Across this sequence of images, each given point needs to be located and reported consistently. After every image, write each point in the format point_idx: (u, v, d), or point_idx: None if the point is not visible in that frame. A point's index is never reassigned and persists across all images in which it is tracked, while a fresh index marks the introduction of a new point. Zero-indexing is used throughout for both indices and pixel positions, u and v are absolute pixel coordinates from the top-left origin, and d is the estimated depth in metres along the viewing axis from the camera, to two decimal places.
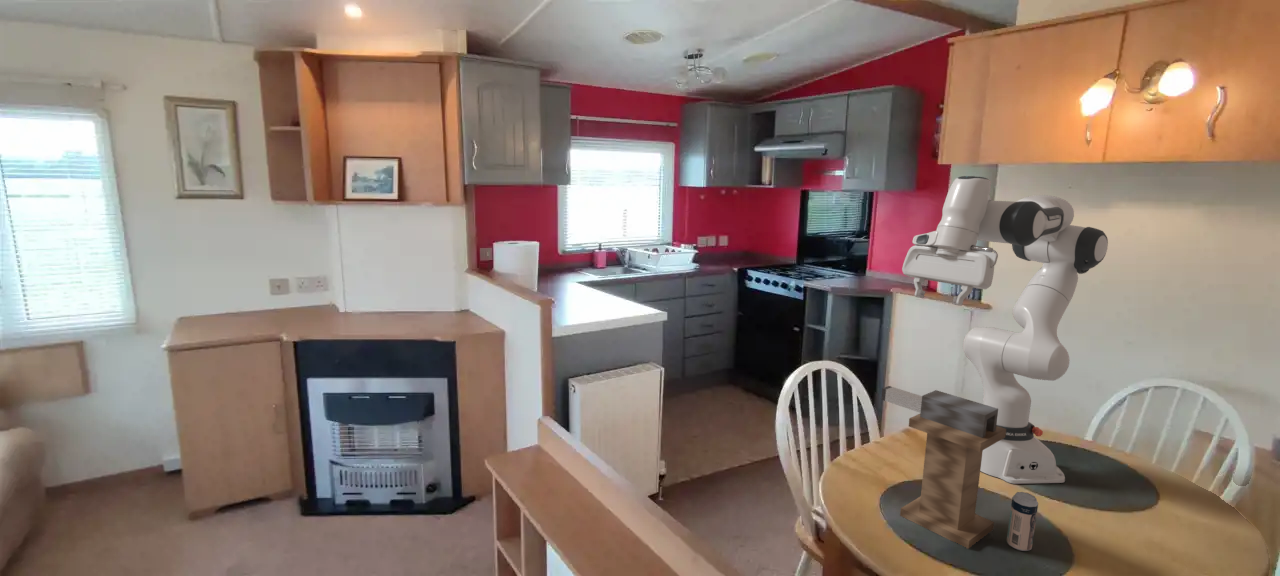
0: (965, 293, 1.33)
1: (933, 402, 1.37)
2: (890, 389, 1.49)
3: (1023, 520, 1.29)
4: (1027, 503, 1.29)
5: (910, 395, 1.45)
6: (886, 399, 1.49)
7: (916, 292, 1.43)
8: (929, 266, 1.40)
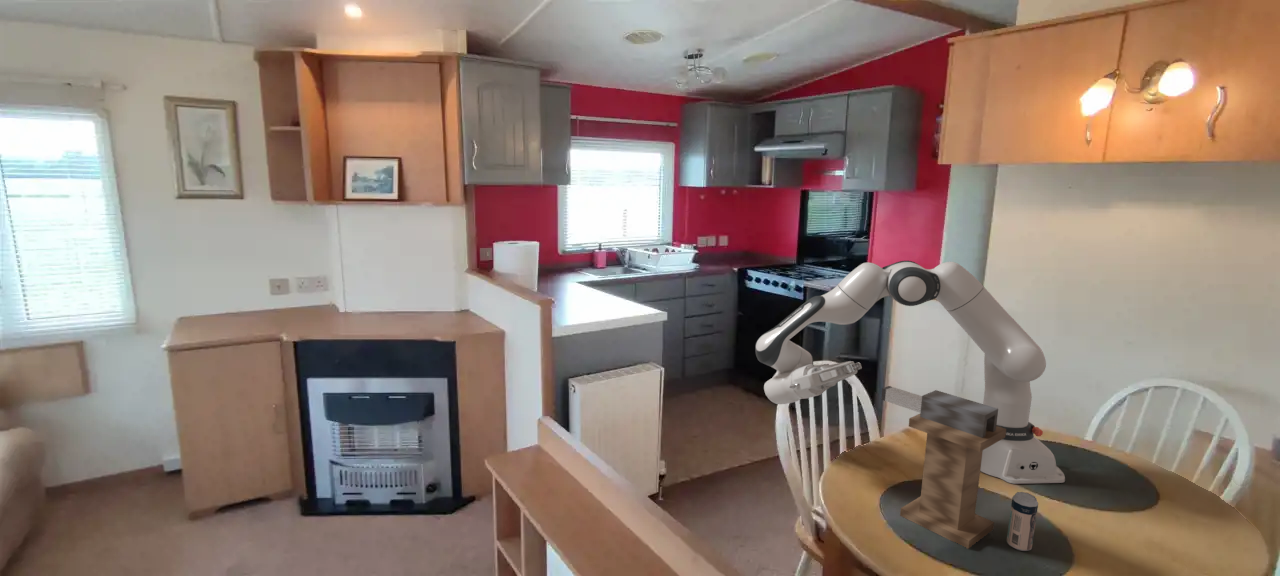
0: (826, 377, 1.57)
1: (933, 402, 1.37)
2: (890, 389, 1.49)
3: (1023, 520, 1.29)
4: (1027, 503, 1.29)
5: (910, 395, 1.45)
6: (886, 399, 1.49)
7: None
8: None
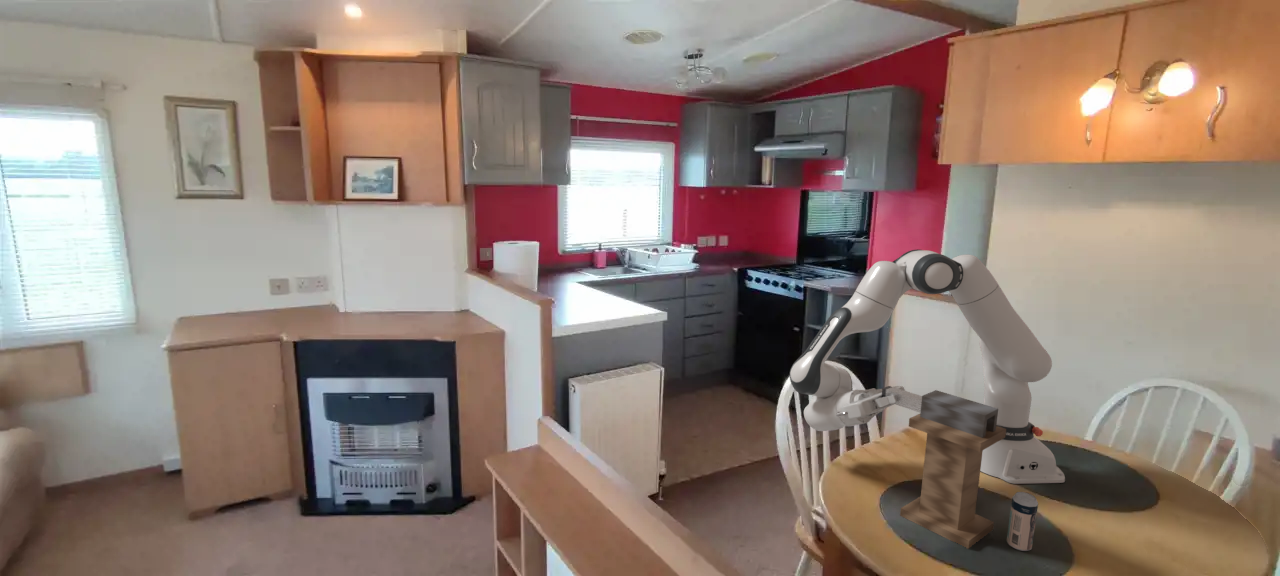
0: (884, 403, 1.47)
1: (933, 402, 1.37)
2: (890, 389, 1.49)
3: (1023, 520, 1.29)
4: (1027, 503, 1.29)
5: (910, 395, 1.45)
6: None
7: None
8: None
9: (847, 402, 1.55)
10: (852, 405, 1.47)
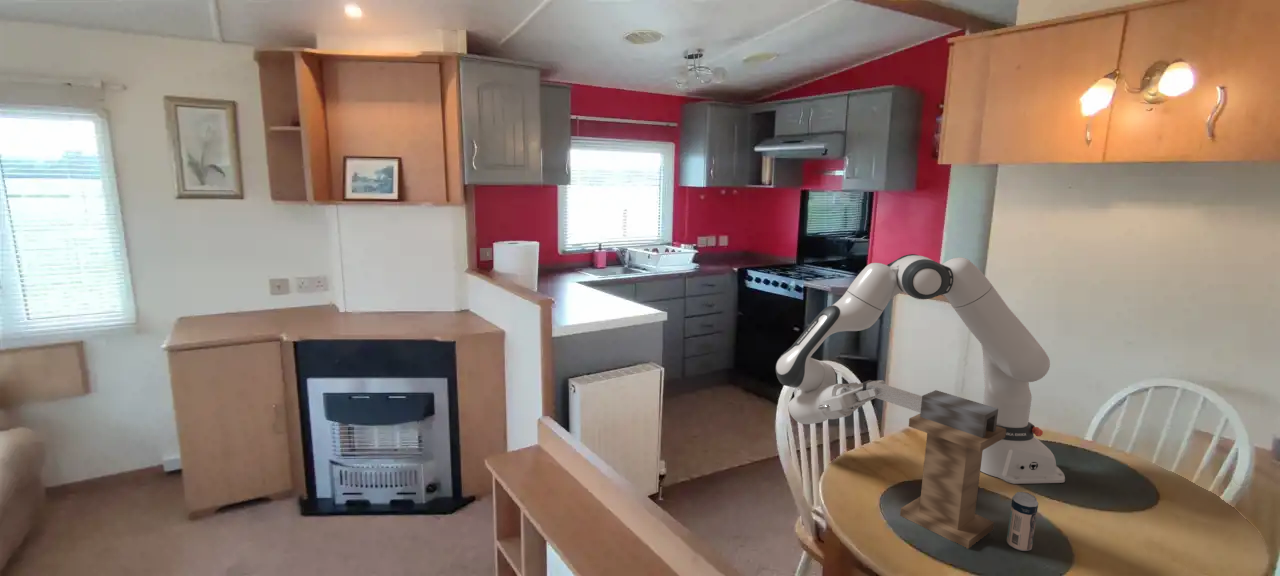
0: (864, 396, 1.51)
1: (933, 402, 1.37)
2: (871, 383, 1.53)
3: (1023, 520, 1.29)
4: (1027, 504, 1.29)
5: (890, 389, 1.49)
6: None
7: None
8: None
9: (829, 396, 1.60)
10: (833, 398, 1.51)
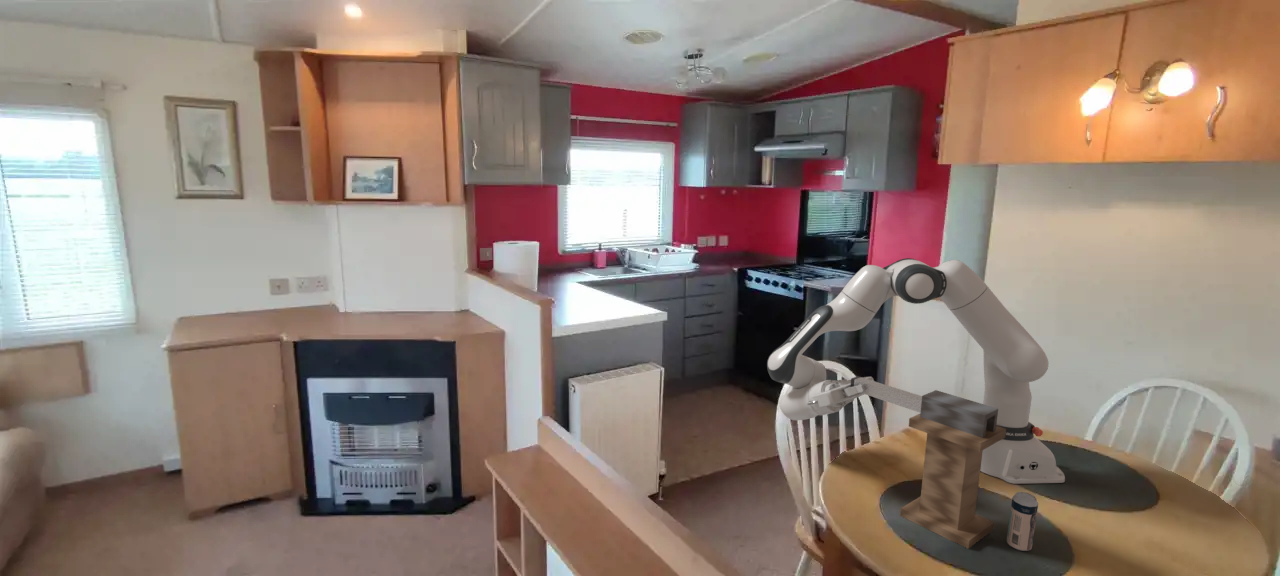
0: (852, 392, 1.54)
1: (933, 402, 1.37)
2: (858, 379, 1.56)
3: (1023, 520, 1.29)
4: (1027, 503, 1.29)
5: (877, 385, 1.52)
6: None
7: None
8: None
9: (818, 392, 1.62)
10: (822, 394, 1.54)
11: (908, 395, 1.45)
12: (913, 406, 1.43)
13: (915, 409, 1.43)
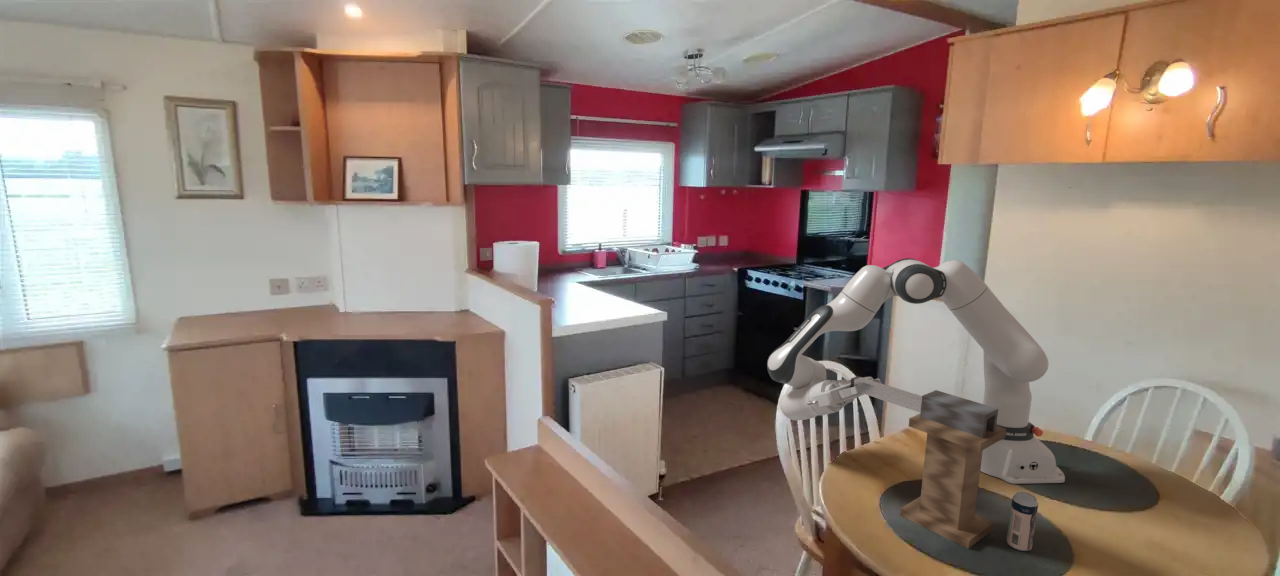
0: (846, 394, 1.53)
1: (933, 402, 1.37)
2: (858, 379, 1.56)
3: (1023, 520, 1.29)
4: (1027, 503, 1.29)
5: (877, 385, 1.52)
6: None
7: None
8: None
9: (818, 392, 1.62)
10: (822, 394, 1.54)
11: (908, 395, 1.45)
12: (913, 406, 1.43)
13: (915, 409, 1.43)
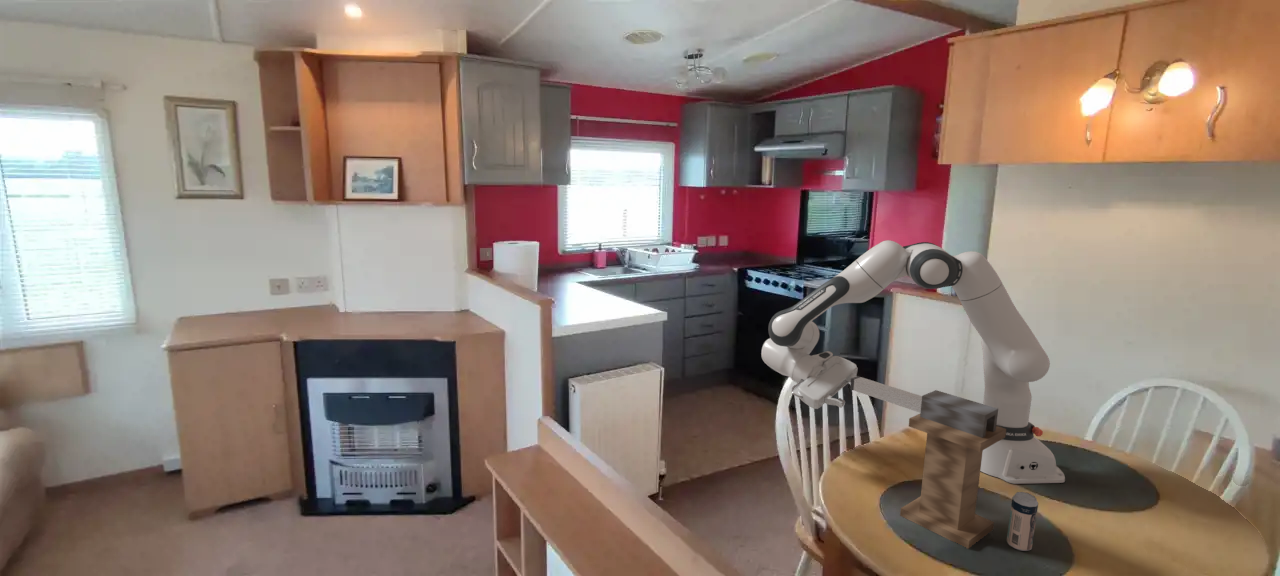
0: (831, 403, 1.62)
1: (933, 402, 1.37)
2: (858, 379, 1.56)
3: (1023, 520, 1.29)
4: (1027, 503, 1.29)
5: (877, 385, 1.52)
6: (854, 389, 1.56)
7: None
8: None
9: (805, 375, 1.68)
10: (810, 398, 1.61)
11: (908, 395, 1.45)
12: (913, 406, 1.43)
13: (915, 409, 1.43)
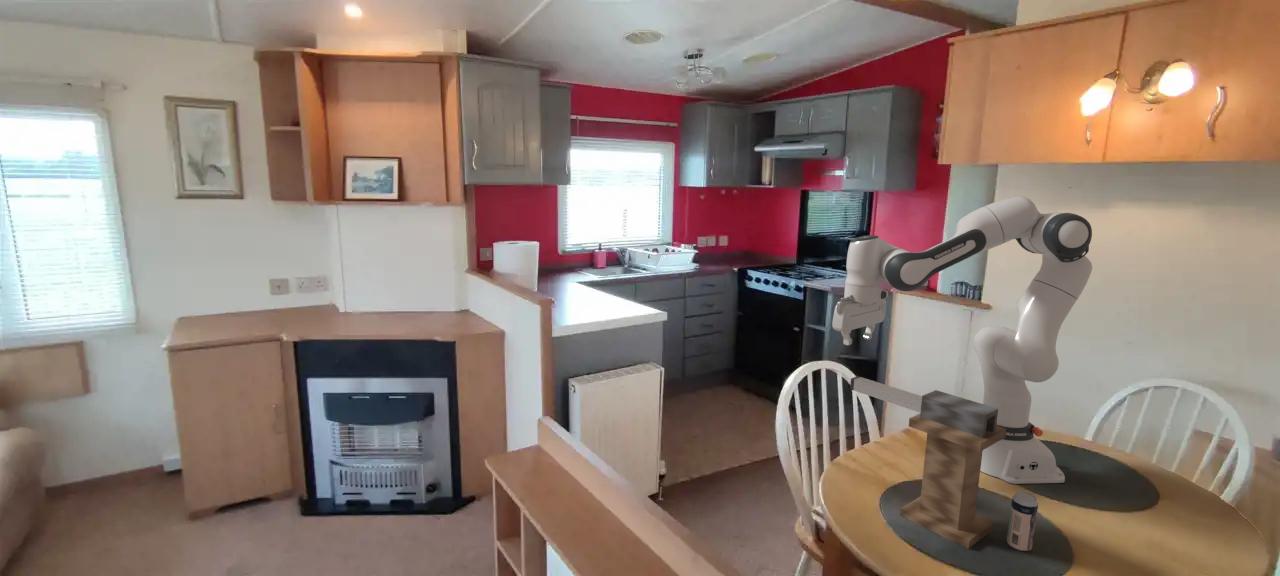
0: (843, 335, 1.66)
1: (933, 402, 1.37)
2: (858, 379, 1.56)
3: (1023, 520, 1.29)
4: (1027, 503, 1.29)
5: (877, 385, 1.52)
6: (854, 389, 1.56)
7: None
8: None
9: (859, 300, 1.63)
10: (842, 324, 1.61)
11: (908, 395, 1.45)
12: (913, 406, 1.43)
13: (915, 409, 1.43)
